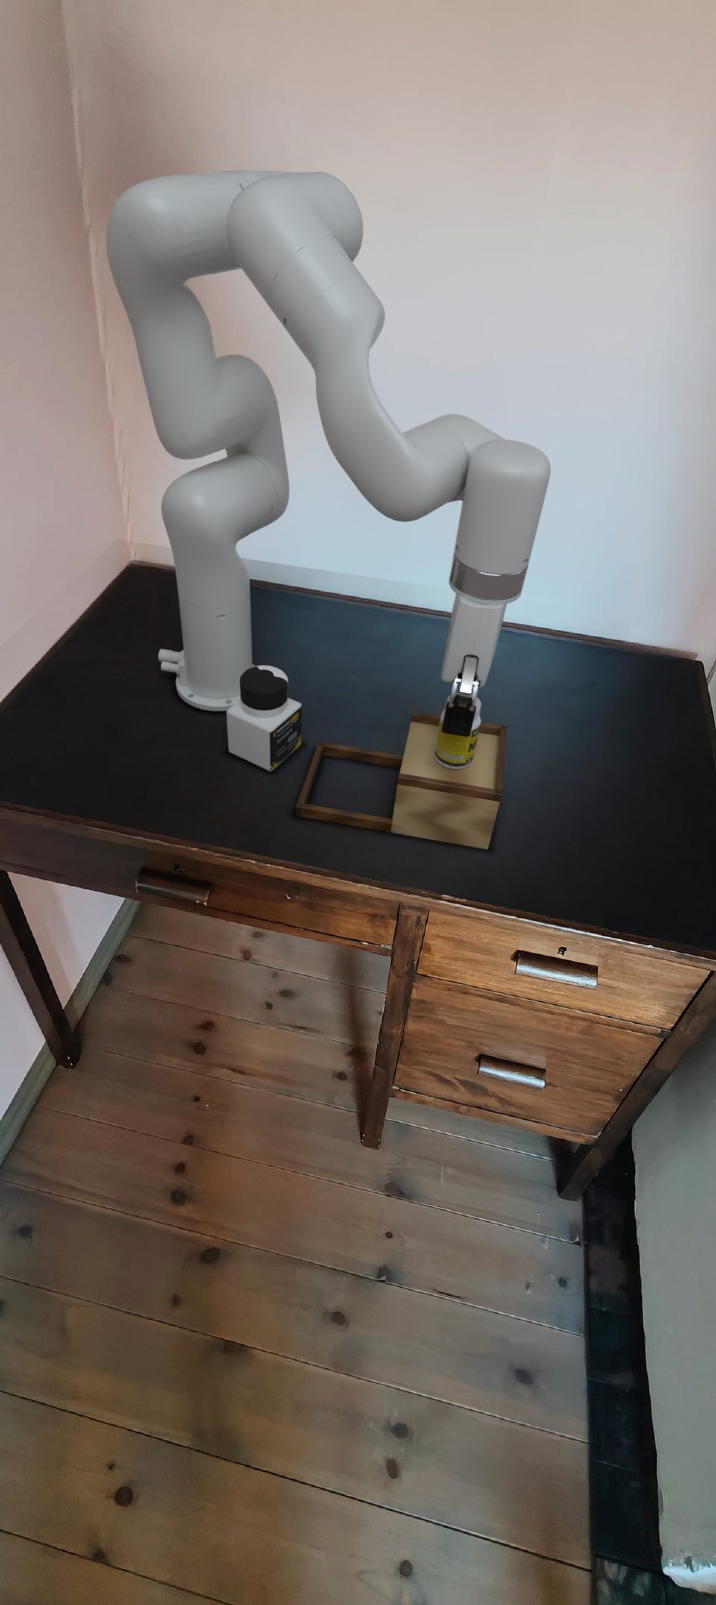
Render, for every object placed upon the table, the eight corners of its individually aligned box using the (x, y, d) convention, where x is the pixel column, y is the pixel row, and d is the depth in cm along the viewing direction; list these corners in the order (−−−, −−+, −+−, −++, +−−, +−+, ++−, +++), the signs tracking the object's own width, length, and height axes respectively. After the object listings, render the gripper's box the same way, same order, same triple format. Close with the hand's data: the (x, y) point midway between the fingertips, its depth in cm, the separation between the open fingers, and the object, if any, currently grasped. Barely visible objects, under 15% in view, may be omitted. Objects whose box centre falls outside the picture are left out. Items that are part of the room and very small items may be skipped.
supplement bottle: (470, 773, 98) (482, 717, 93) (431, 766, 99) (440, 710, 93) (474, 748, 102) (486, 693, 96) (436, 742, 102) (445, 686, 97)
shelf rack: (295, 815, 103) (296, 759, 96) (318, 750, 112) (320, 695, 106) (487, 849, 101) (501, 794, 94) (494, 780, 110) (507, 725, 104)
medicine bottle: (271, 773, 108) (270, 699, 100) (227, 752, 111) (223, 678, 102) (301, 744, 113) (303, 671, 104) (259, 725, 115) (257, 652, 107)
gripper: (459, 529, 90) (436, 660, 102) (441, 610, 78) (417, 748, 90) (527, 540, 89) (496, 670, 101) (521, 624, 77) (486, 761, 89)
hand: (459, 707), depth 95 cm, fingers open, 9 cm apart
